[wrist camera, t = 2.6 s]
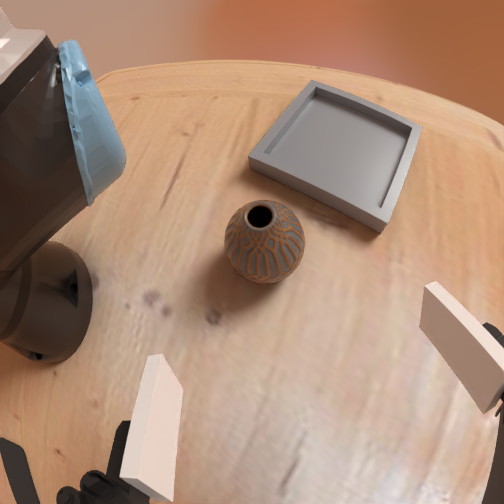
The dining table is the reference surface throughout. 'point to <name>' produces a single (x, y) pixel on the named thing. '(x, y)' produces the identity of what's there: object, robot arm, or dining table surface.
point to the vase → (264, 241)
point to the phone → (18, 472)
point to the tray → (340, 152)
